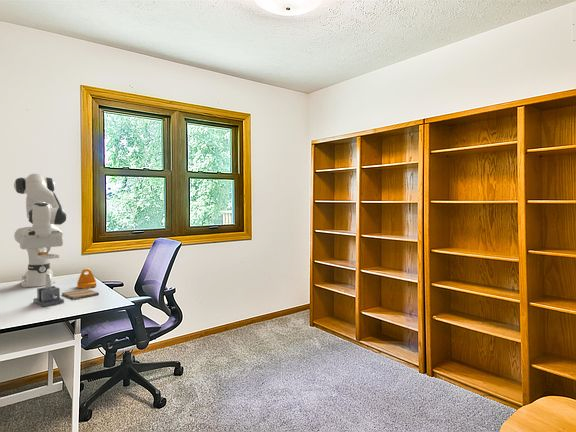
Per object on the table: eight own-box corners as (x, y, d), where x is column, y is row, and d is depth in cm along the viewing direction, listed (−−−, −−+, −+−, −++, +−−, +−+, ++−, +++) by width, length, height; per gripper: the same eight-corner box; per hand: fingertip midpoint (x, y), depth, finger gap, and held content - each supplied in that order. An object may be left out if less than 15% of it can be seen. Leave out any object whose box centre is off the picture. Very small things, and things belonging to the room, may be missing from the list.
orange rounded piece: (77, 289, 226) (77, 270, 225) (77, 286, 232) (77, 268, 232) (96, 287, 232) (96, 269, 231) (95, 285, 238) (95, 267, 237)
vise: (33, 302, 197) (32, 273, 196) (53, 298, 205) (53, 271, 204) (45, 308, 187) (44, 278, 186) (66, 303, 195) (65, 275, 194)
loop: (32, 256, 199) (32, 252, 199) (48, 254, 205) (48, 250, 205) (42, 259, 190) (42, 255, 190) (59, 257, 196) (58, 253, 196)
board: (62, 295, 212) (62, 293, 212) (86, 290, 223) (86, 288, 223) (73, 299, 203) (73, 297, 203) (98, 294, 214) (98, 292, 214)
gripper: (60, 229, 210) (60, 252, 211) (18, 232, 193) (19, 257, 194) (64, 230, 206) (64, 254, 207) (22, 233, 190) (23, 258, 190)
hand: (42, 255), depth 200 cm, fingers closed on loop, 2 cm apart
